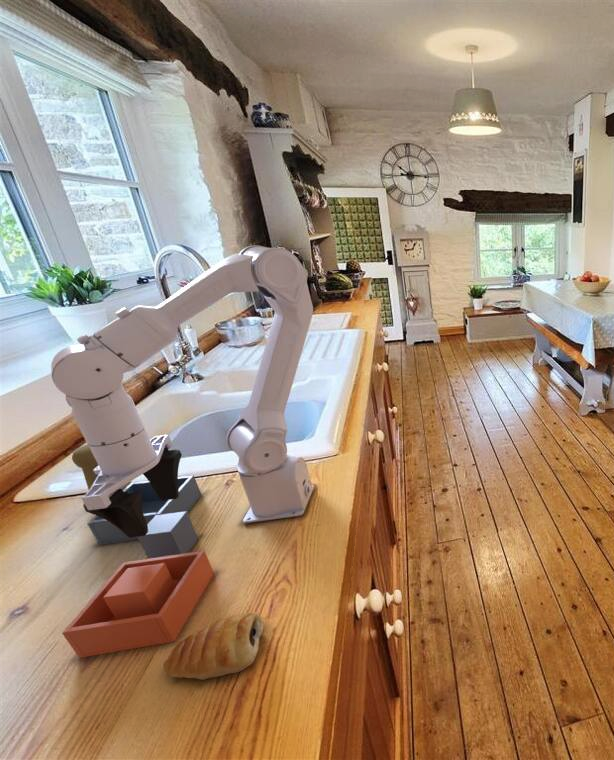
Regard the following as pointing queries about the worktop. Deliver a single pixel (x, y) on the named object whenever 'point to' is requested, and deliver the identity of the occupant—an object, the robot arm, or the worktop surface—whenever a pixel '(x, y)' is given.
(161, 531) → the slate block
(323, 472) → the worktop surface
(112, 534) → the slate bin
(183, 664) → the pastry
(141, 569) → the terracotta block
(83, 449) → the cork
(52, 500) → the worktop surface
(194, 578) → the terracotta bin
